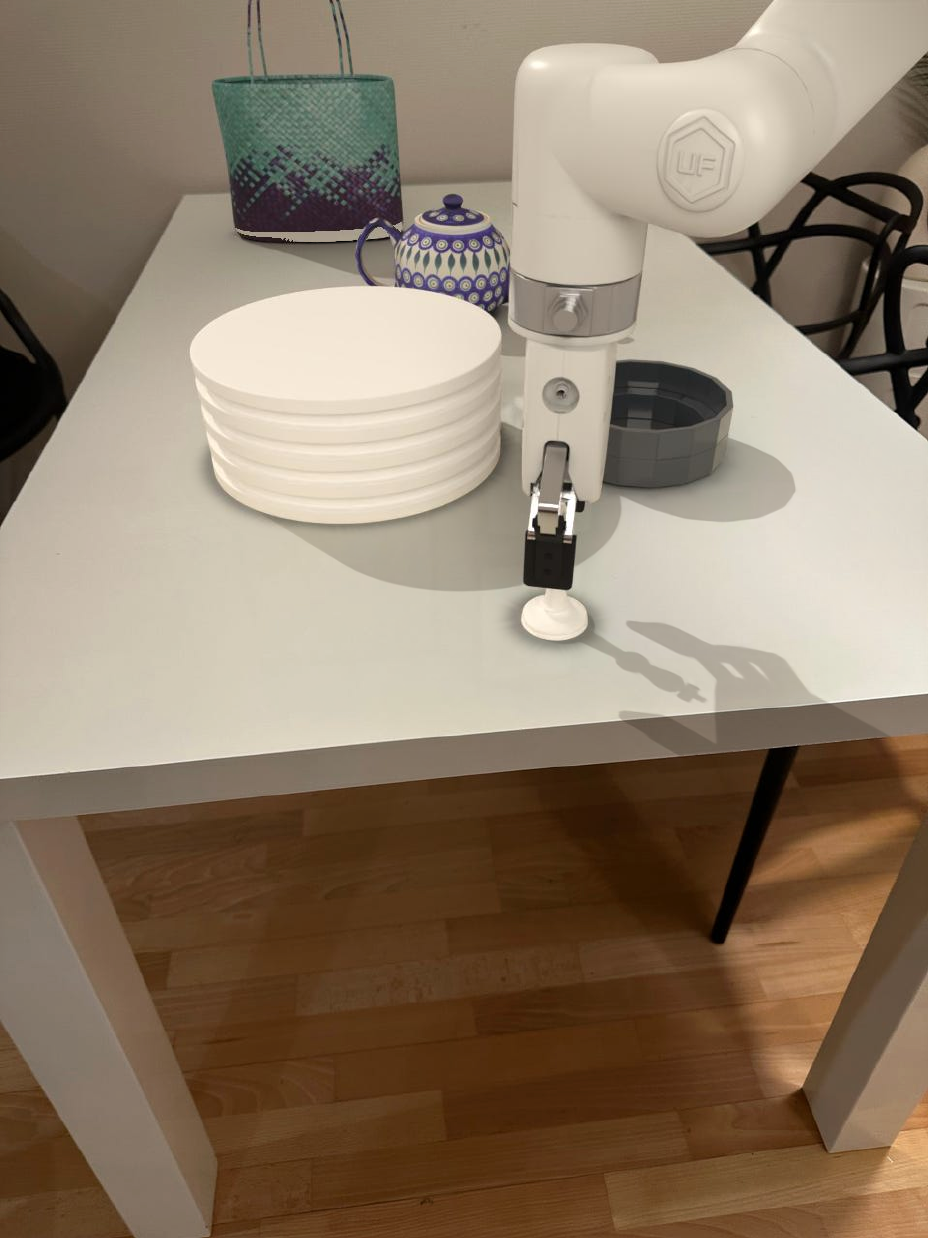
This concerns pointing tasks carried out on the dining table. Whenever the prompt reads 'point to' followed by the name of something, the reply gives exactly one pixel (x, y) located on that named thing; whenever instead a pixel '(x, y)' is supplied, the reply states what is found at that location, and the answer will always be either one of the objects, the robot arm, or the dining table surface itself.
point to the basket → (309, 148)
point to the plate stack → (351, 402)
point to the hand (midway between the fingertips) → (555, 545)
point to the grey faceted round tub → (665, 424)
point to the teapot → (448, 255)
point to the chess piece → (555, 612)
